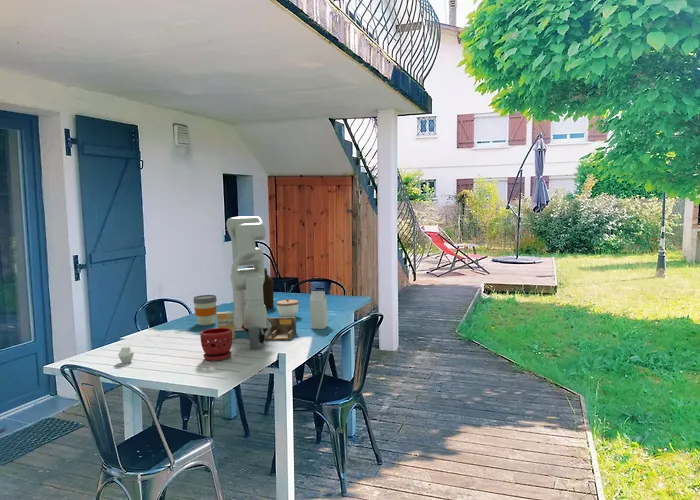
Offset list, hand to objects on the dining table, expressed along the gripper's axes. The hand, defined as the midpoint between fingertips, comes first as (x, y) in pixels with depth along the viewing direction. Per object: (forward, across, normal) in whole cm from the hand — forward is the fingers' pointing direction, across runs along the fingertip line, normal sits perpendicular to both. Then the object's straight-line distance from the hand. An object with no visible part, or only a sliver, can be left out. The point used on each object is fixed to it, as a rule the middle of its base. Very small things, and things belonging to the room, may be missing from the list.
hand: (257, 342), depth 233 cm
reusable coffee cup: (+2, -43, +50) cm, 66 cm away
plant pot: (+3, -13, -16) cm, 21 cm away
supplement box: (+3, -20, +16) cm, 26 cm away
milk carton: (+3, +23, +36) cm, 43 cm away
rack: (+2, +4, +18) cm, 19 cm away
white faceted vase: (+3, -51, -21) cm, 55 cm away
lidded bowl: (+2, +1, +62) cm, 62 cm away
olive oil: (+2, -20, +93) cm, 95 cm away
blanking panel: (+2, 0, 0) cm, 2 cm away
